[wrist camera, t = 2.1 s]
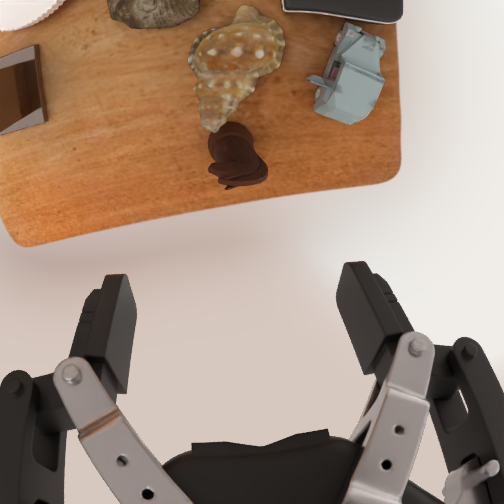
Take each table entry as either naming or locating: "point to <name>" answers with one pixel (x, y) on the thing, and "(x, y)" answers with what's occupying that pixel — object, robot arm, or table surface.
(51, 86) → the table surface
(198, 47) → the seashell
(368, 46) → the toy car
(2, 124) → the green pedestal cup
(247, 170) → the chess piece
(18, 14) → the plastic lid
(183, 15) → the fossilized seashell
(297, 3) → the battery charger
